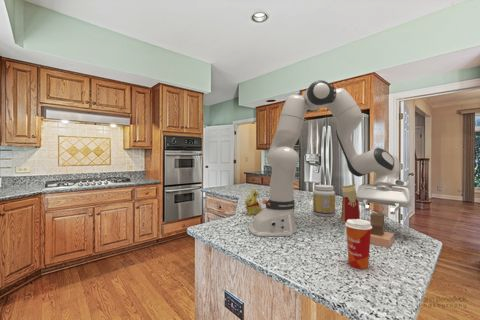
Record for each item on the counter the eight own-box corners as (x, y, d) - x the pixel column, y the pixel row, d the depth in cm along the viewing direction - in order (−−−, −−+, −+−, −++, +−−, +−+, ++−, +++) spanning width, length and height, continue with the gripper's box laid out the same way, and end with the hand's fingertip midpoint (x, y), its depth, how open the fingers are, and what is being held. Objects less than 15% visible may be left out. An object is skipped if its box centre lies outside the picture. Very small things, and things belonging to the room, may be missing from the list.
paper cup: (340, 260, 79) (340, 218, 79) (362, 259, 80) (362, 218, 79) (353, 271, 71) (354, 225, 71) (377, 270, 72) (378, 224, 72)
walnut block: (381, 236, 93) (381, 216, 93) (370, 233, 96) (370, 214, 96) (383, 233, 96) (384, 214, 96) (372, 231, 99) (373, 212, 98)
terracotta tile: (389, 248, 89) (389, 240, 89) (360, 241, 96) (360, 234, 95) (394, 240, 96) (394, 233, 96) (367, 235, 103) (367, 228, 103)
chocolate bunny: (243, 214, 140) (243, 189, 139) (260, 212, 144) (259, 188, 143) (248, 217, 133) (247, 190, 133) (265, 215, 137) (265, 189, 137)
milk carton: (358, 219, 127) (358, 182, 126) (360, 224, 118) (361, 184, 118) (339, 218, 130) (339, 182, 129) (341, 223, 121) (341, 184, 121)
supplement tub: (311, 211, 145) (311, 184, 145) (332, 212, 144) (332, 184, 143) (315, 216, 133) (315, 187, 133) (337, 217, 132) (337, 187, 131)
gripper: (358, 179, 110) (350, 203, 103) (412, 182, 96) (408, 211, 89) (360, 187, 113) (354, 211, 106) (413, 192, 99) (409, 220, 92)
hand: (379, 211), depth 98 cm, fingers open, 8 cm apart
